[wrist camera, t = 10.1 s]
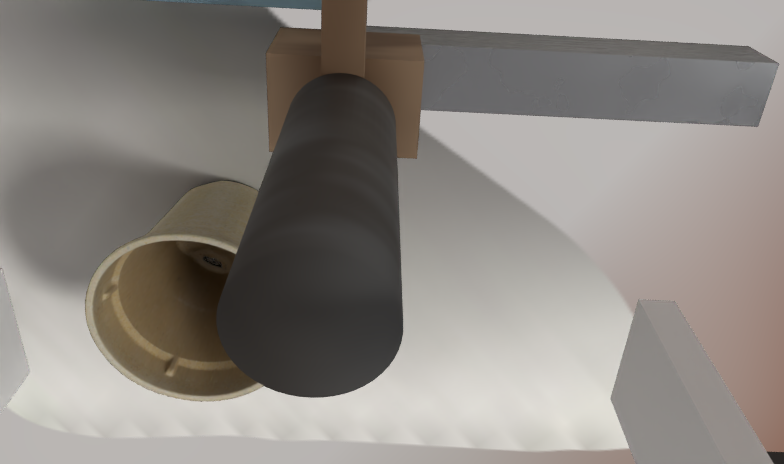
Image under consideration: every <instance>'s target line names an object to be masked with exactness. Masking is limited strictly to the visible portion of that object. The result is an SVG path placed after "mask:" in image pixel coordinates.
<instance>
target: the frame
mask: <svg viewBox="0 0 784 464" xmlns="http://www.w3.org/2000/svg"><path fill="white" fill-rule="evenodd" d="M148 1H166V2H185V3H203V4H221V5H240V6H258V7H276V8H277V7H278V8H296V9H313V10H321V8H322V0H148Z"/></svg>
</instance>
